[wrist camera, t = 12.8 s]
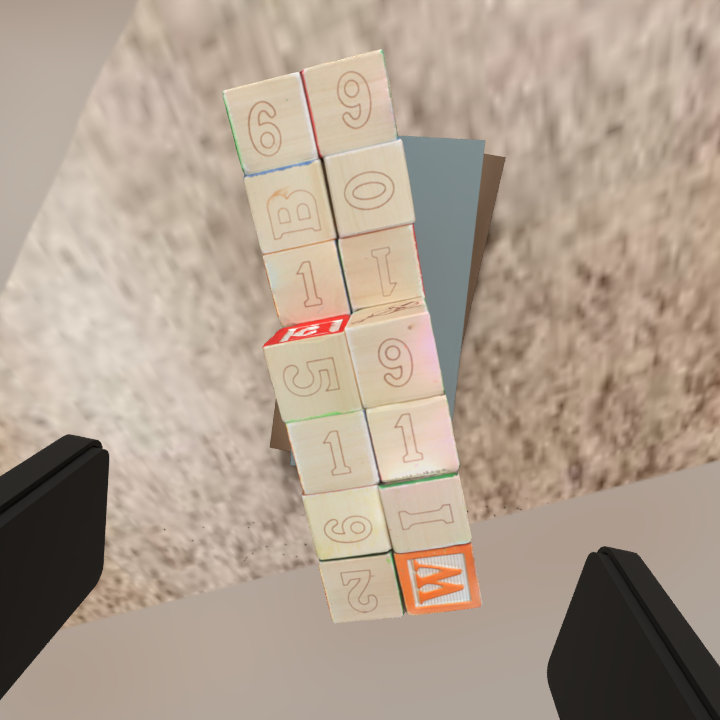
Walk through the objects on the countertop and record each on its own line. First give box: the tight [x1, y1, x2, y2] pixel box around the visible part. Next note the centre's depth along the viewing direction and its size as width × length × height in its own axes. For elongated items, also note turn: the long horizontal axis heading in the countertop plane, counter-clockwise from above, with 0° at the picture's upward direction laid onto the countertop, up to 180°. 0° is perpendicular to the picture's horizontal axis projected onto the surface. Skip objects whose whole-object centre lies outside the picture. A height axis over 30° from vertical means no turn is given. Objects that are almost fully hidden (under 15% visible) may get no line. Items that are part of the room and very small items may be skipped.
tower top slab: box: [291, 136, 485, 466], centre depth 31 cm, size 10×20×4 cm, turn 177°
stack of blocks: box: [223, 49, 483, 623], centre depth 23 cm, size 21×6×12 cm, turn 11°
